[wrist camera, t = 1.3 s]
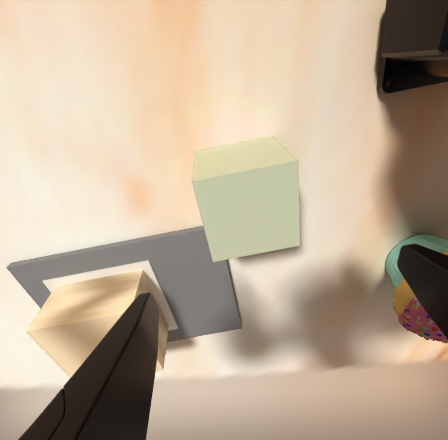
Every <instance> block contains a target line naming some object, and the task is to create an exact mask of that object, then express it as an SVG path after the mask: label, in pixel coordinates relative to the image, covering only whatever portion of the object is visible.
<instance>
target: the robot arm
mask: <svg viewBox="0 0 448 440" xmlns="http://www.w3.org/2000/svg"><path fill="white" fill-rule="evenodd" d="M380 54H381V55H382V56H381V64H380V72H379V80H378V89H379V91H380V92H383V93H392V92H397V91H402V90H407V89H412V88H417V87H422V86H427V85H432V84H437V83H442V82H447V81H448V0H387V2H386V10H385V18H384V26H383V34H382V42H381V50H380ZM389 79H391V84H390V85H389V86H388V87H387V85H386V84H387V81H388V80H389ZM397 267H398V269H399V271H400V273H401V274H402V276H403V277H404V279H405V280H406V282H407V284H408V285H409V287H410V288H411V290H412V292H413V293H414V295H415V296H416V298H417V300H418V301H419V303H420V304H421V306H422V307H423V308H424V310H425V311H426V313H427V314H428V315H429V316H430V318H431V319H432V320H433V322H434V323H435V324H436V325H437V327H438V328H439V329H440V331H441V332H442V333H443V334H444V336H445V337H446V338H447V340H448V255H446V254H443V253H440V252H438V251H435V250H432V249H430V248H427V247H424V246H422V245H419V244H416V243H412V244H407V245H403V246H402V247H401V248H400V252H399V256H398V260H397ZM158 334H159V308H158V305H157V303H156V301H155V299H154V297H153V295H152V293H151V292H147V293H141V294H139V295H138V296H137V297H136V298H135V300H134V301H133V302H132V303H131V304H130V306H129V307H128V308H127V309H126V311H125V312H124V313H123V314H122V315H121V317H120V318H119V319H118V320H117V322H116V323H115V324H114V325H113V327H112V328H111V329H110V330H109V331H108V333H107V334H106V335H105V336H104V338H103V339H102V340H101V341H100V342H99V344H98V345H97V346H96V347H95V349H94V350H93V351H92V352H91V353H90V355H89V356H88V357H87V358H86V360H85V361H84V362H83V363H82V364H81V366H80V367H79V368H78V369H77V371H76V372H75V373H74V374H73V376H72V377H71V378H70V379H69V380H68V382H67V383H66V384H65V385H64V389H61V390H60V391H59V393H58V394H57V395H56V396H55V398H54V399H53V400H52V401H51V402H50V403H49V405H48V406H47V407H46V408H45V409H44V411H43V412H42V413H41V414H40V416H39V417H38V418H37V419H36V420H35V421H34V422H33V424H32V425H31V426H30V427H29V428H28V429H27V430H26V432H25V433H24V434H23V435H22V436H21V437H20V438H19V439H18V440H146V434H147V428H148V421H149V413H150V406H151V399H152V392H153V385H154V378H155V371H156V364H157V356H158Z"/></svg>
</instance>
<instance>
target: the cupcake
mask: <svg viewBox="0 0 448 440" xmlns="http://www.w3.org/2000/svg"><path fill="white" fill-rule="evenodd" d="M412 243H416V244H419V245H422V246H424V247H427V248H430V249H432V250H435V251H438V252H440V253H443V254H446V255H448V240H445V239H442V238H439V237H437V236H434V235H430V234H421V235H416V236H413V237H410V238H408V239H406V240H404V241H402V242H401V243H399V244H398V245H397V246H396V247H395V248H394V249H393V250H392V251H391V252H390V254H389V255H388V257H387V260H386V270H387V272H388V274H389V276H390V279H391V281H392V284H393V286H394V289H395V290H394V303H393V308H394V310H395V311H396V313H397V314H398V316H399V318H398V320H399V322H400V324H401V325H402V326H403V327H404V328H406V329H407V330H408V331H411V332H413V333H415V334H417V335H419V336H420V337H424V338H425V339H426V338H427V339H426V340H429V339H431V340H433V341H434V340H436V341H441V342H443V343H448V340H447V338H446V337H445V336H444V334H443V333H442V332H441V331H440V329H439V328H438V327H437V325H436V324H435V323H434V322H433V320H432V319H431V318H430V316H429V315H428V314H427V313H426V311H425V310H424V308H423V307H422V306H421V304H420V303H419V301H418V300H417V298H416V296H415V295H414V293H413V292H412V290H411V288H410V287H409V285H408V284H407V282H406V280H405V279H404V277H403V276H402V274H401V273H400V271H399V269H398V267H397V260H398V256H399V252H400V248H401V247H402V246H403V245H407V244H412Z"/></svg>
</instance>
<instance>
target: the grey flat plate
mask: <svg viewBox="0 0 448 440" xmlns="http://www.w3.org/2000/svg"><path fill="white" fill-rule="evenodd" d="M7 269H8V270H9V271H10V272H11V274H12V275H13V276H14V277H15V278H16V280H17V281H18V282H19V283H20V284H21V285H22V287H23V288H24V289H25V290H26V291H27V293H28V294H29V295H30V296H31V297H32V299H33V300H34V301H35V302H36V303H37V305H38V306H39V307H40V308H42V306H43V305H44V303H45V302H46V300H47V299H48V297H49V296H50V294H51V293H52V291H53V290H54V288H55V287H56V286H60V285H65V284H70V283H76V282H81V281H86V280H91V279H97V278H102V277H107V276H112V275H118V274H123V273H128V272H133V271H138V270H143V271H144V273H145V276H146V278H147V280H148V282H149V284H150V286H151V288H152V291H153V293H154V295H155V297H156V299H157V301H158V304H159V306H160V308H161V310H162V312H163V314H164V316H165V319H166V321H167V323H168V325H169V327H168V335H167V342H170V341H175V340H181V339H186V338H191V337H197V336H202V335H208V334H213V333H219V332H224V331H230V330H235V329H240V328H241V322H240V318H239V313H238V309H237V304H236V300H235V295H234V291H233V287H232V282H231V278H230V273H229V269H228V264H227V260H222V261H217V262H213V260H212V256H211V253H210V249H209V245H208V241H207V237H206V234H205V230H204V226H200V227H195V228H189V229H184V230H179V231H174V232H169V233H164V234H159V235H153V236H148V237H143V238H138V239H133V240H128V241H122V242H117V243H112V244H107V245H102V246H97V247H91V248H86V249H81V250H76V251H71V252H66V253H61V254H55V255H50V256H45V257H40V258H35V259H30V260H24V261H19V262H14V263H10V264H9V266H8V267H7Z"/></svg>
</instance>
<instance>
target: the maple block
mask: <svg viewBox="0 0 448 440" xmlns="http://www.w3.org/2000/svg"><path fill="white" fill-rule="evenodd" d="M147 292H151V293H152V295H153V297H154V299H155V301H156V303H157V305H158V308H159V334H158V356H157V364H156V371H159V370H163V367H164V359H165V351H166V343H167V335H168V327H169V325H168V323H167V321H166V319H165V316H164V314H163V312H162V310H161V308H160V306H159V304H158V301H157V299H156V297H155V295H154V293H153V291H152V288H151V286H150V284H149V282H148V280H147V278H146V276H145V273H144V271H143V270H138V271H133V272H128V273H123V274H118V275H112V276H107V277H102V278H97V279H91V280H86V281H81V282H76V283H70V284H65V285H60V286H56V287H55V288H54V290H53V291H52V293H51V294H50V296H49V297H48V299H47V300H46V302H45V303H44V305H43V306H42V308H41V309H40V311H39V312H38V314H37V315H36V317H35V318H34V320H33V321H32V323H31V324H30V326H29V327H28V329H27V330H26V333H27V334H28V335H29V336H30V337H31V338H32V339H33V340H34V341H35V342H36V343H37V344H38V345H39V346H40V347H41V348H42V349H43V350H44V351H45V352H46V353H47V354H48V356H49V357H50V358H51V359H52V360H53V361H54V362H55V363H56V364H57V365H58V366H59V367H60V368H61V369H62V370H63V371H64V372H65V373H66V374H67V375H68V376H69V377H70V378H71V377H72V376H73V374H74V373H75V372H76V371H77V369H78V368H79V367H80V366H81V364H82V363H83V362H84V361H85V360H86V358H87V357H88V356H89V355H90V353H91V352H92V351H93V350H94V349H95V347H96V346H97V345H98V344H99V342H100V341H101V340H102V339H103V338H104V336H105V335H106V334H107V333H108V331H109V330H110V329H111V328H112V327H113V325H114V324H115V323H116V322H117V320H118V319H119V318H120V317H121V315H122V314H123V313H124V312H125V311H126V309H127V308H128V307H129V306H130V304H131V303H132V302H133V301H134V300H135V298H136V297H137V296H138V295H139V294H141V293H147Z"/></svg>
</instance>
